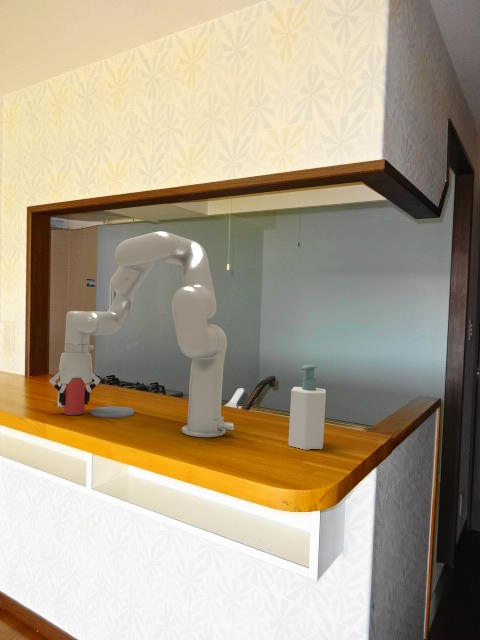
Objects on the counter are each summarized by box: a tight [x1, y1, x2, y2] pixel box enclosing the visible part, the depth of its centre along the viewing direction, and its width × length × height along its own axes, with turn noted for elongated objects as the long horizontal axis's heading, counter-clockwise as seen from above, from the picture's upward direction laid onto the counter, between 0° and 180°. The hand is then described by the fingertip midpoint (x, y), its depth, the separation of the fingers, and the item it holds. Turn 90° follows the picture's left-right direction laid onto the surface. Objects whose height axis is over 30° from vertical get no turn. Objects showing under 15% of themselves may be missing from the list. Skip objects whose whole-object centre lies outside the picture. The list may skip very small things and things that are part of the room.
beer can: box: [62, 378, 86, 417], centre depth 160 cm, size 7×7×12 cm
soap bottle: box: [287, 364, 327, 451], centre depth 135 cm, size 10×9×22 cm
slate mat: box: [90, 405, 135, 419], centre depth 164 cm, size 14×14×1 cm
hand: (74, 403), depth 160 cm, fingers closed on beer can, 6 cm apart
